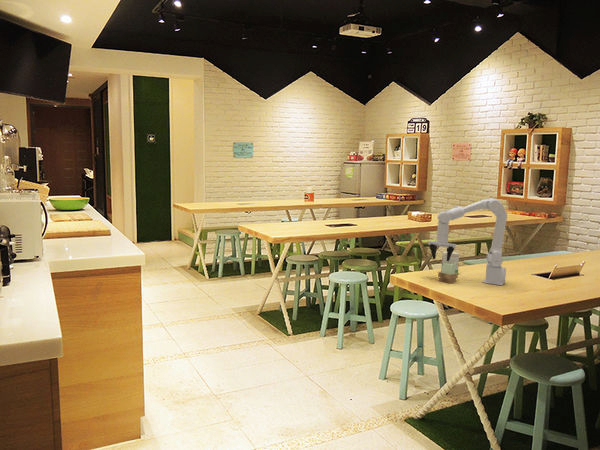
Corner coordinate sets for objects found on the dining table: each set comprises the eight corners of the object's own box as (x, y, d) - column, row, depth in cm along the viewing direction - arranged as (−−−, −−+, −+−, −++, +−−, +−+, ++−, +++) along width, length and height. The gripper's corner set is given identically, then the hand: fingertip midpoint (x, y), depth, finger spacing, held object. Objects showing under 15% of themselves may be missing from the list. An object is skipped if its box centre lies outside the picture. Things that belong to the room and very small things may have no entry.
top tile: (457, 278, 266) (457, 273, 266) (449, 279, 262) (449, 275, 261) (446, 275, 271) (446, 270, 271) (438, 276, 267) (438, 272, 267)
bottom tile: (455, 281, 268) (456, 277, 268) (452, 284, 262) (453, 279, 261) (442, 279, 271) (442, 275, 271) (439, 282, 265) (439, 278, 265)
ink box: (442, 273, 283) (443, 253, 281) (440, 271, 288) (442, 251, 286) (458, 274, 282) (459, 253, 280) (456, 272, 287) (457, 252, 286)
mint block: (455, 273, 266) (455, 263, 265) (451, 274, 262) (451, 265, 261) (445, 271, 269) (446, 262, 268) (441, 273, 265) (442, 263, 264)
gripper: (426, 233, 269) (425, 258, 270) (453, 237, 260) (451, 263, 262) (431, 232, 274) (430, 257, 276) (458, 235, 266) (456, 261, 268)
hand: (441, 259), depth 269 cm, fingers open, 7 cm apart
